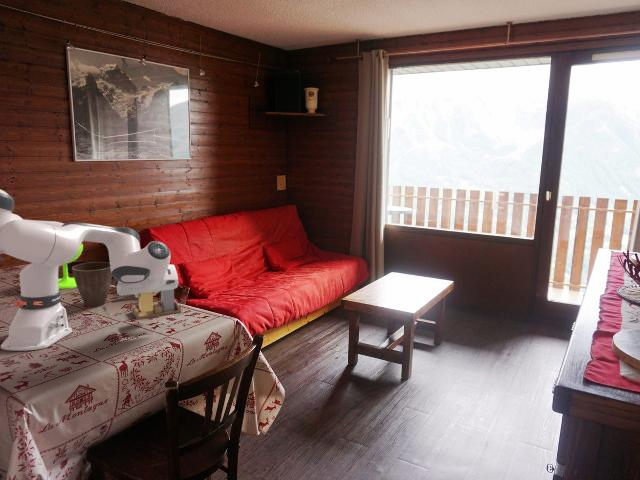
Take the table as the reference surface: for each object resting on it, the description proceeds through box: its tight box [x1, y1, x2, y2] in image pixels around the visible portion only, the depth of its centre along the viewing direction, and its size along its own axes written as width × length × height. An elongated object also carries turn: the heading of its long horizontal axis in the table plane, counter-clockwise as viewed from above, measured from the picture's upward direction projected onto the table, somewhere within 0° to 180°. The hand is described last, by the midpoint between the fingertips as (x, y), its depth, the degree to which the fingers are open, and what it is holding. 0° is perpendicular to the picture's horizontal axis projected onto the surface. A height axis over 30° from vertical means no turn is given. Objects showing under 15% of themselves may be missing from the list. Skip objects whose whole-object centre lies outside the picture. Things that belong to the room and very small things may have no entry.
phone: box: [110, 296, 139, 304], centre depth 197 cm, size 8×1×15 cm
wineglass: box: [58, 243, 84, 290], centre depth 217 cm, size 16×16×18 cm
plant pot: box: [71, 261, 113, 308], centre depth 192 cm, size 15×15×16 cm
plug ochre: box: [138, 292, 154, 312], centre depth 170 cm, size 4×4×10 cm
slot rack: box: [131, 298, 182, 320], centre depth 182 cm, size 9×16×4 cm, turn 123°
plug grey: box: [160, 289, 175, 312], centre depth 183 cm, size 4×4×10 cm
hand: (145, 294), depth 170 cm, fingers closed on plug ochre, 4 cm apart
